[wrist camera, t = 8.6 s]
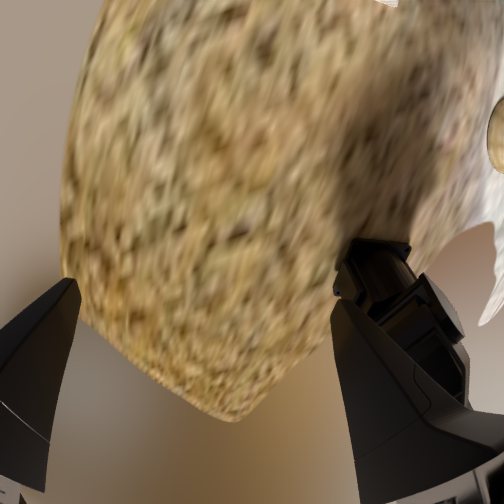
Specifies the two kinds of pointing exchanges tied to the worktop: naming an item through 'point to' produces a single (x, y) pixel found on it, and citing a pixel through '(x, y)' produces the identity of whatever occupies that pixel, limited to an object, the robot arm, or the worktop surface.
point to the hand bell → (497, 138)
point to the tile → (389, 2)
